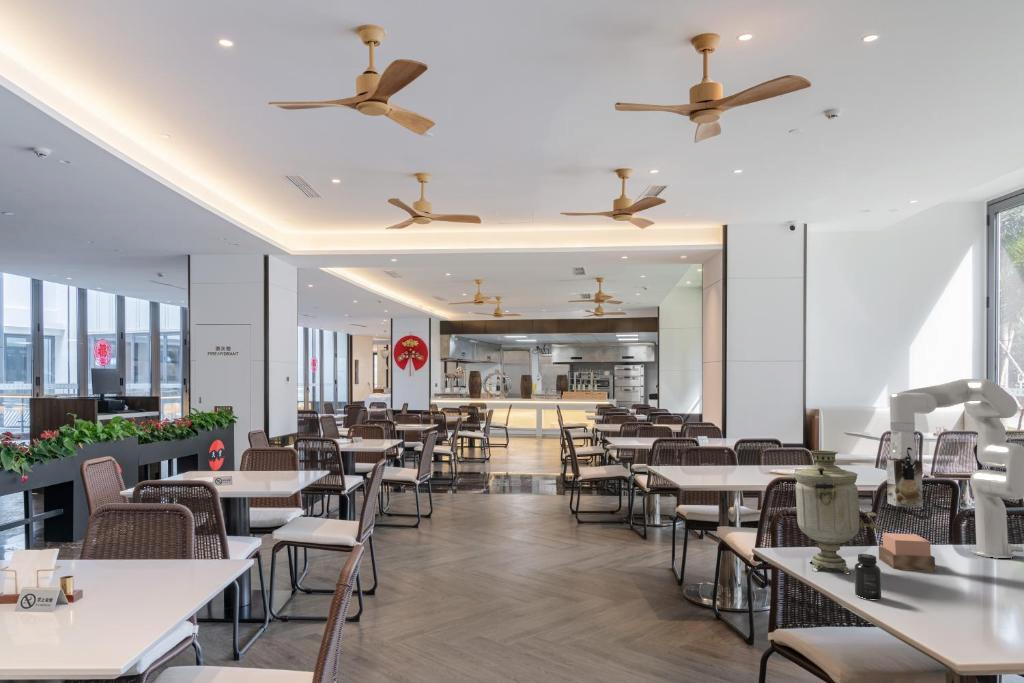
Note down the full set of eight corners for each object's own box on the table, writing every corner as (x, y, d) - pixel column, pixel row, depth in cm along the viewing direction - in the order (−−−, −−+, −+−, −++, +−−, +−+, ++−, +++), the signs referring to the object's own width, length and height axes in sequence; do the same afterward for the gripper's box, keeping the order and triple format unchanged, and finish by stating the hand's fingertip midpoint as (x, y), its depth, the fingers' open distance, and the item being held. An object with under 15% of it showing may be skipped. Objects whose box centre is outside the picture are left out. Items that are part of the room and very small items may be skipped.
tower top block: (916, 548, 228) (915, 534, 229) (930, 556, 218) (930, 541, 218) (883, 546, 230) (882, 532, 231) (895, 554, 220) (895, 540, 220)
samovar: (868, 588, 196) (865, 458, 199) (782, 571, 214) (779, 452, 217) (891, 569, 218) (887, 452, 221) (811, 555, 236) (808, 446, 239)
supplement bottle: (886, 598, 187) (884, 556, 188) (873, 602, 184) (872, 559, 184) (863, 591, 193) (861, 551, 194) (850, 595, 189) (849, 554, 190)
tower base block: (918, 562, 229) (917, 548, 229) (935, 572, 216) (934, 557, 217) (879, 560, 231) (878, 546, 232) (893, 570, 219) (893, 555, 219)
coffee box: (896, 506, 223) (894, 460, 224) (887, 503, 229) (885, 458, 230) (923, 507, 222) (922, 461, 223) (914, 504, 228) (912, 459, 229)
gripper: (881, 426, 236) (883, 474, 235) (901, 429, 219) (903, 481, 218) (903, 426, 235) (905, 475, 234) (925, 429, 218) (927, 482, 217)
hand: (904, 477), depth 226 cm, fingers closed on coffee box, 6 cm apart
